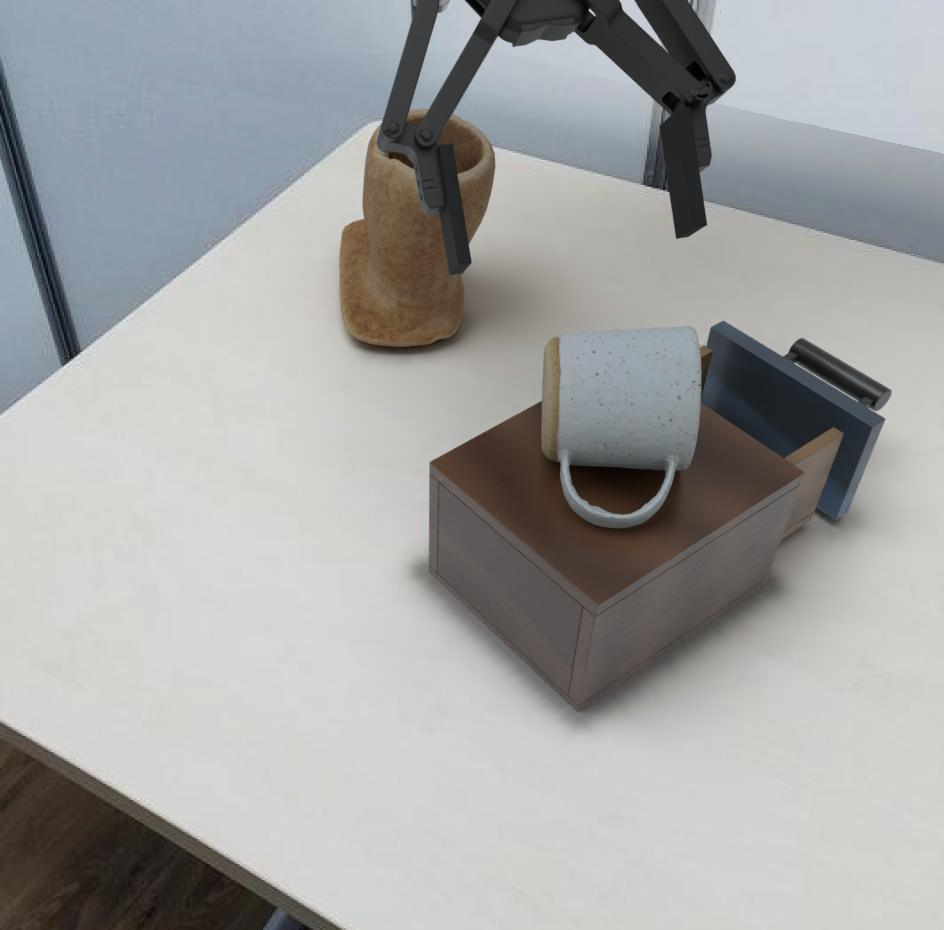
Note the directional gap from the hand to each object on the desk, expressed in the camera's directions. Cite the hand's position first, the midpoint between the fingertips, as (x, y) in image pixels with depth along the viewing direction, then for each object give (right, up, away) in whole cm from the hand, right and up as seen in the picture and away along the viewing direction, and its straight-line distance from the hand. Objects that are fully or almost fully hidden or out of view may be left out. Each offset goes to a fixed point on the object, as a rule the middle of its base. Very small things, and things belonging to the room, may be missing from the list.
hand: (577, 251), depth 64 cm
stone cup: (-8, +4, +28) cm, 29 cm away
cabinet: (+3, -19, +7) cm, 20 cm away
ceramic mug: (+2, -12, 0) cm, 13 cm away
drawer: (+12, -12, +11) cm, 20 cm away
